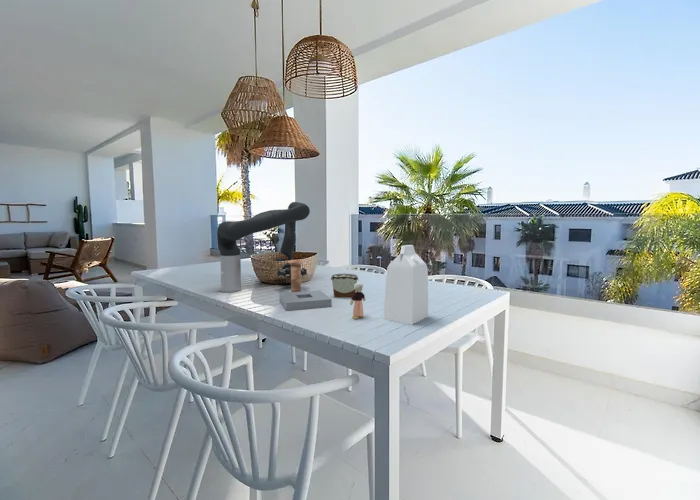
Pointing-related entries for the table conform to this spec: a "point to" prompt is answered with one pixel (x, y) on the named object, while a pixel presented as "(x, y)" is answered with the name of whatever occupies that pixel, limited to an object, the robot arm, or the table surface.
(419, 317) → the milk
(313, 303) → the socket block
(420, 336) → the table surface
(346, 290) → the food container
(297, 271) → the headed peg
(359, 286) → the grandmother figurine
